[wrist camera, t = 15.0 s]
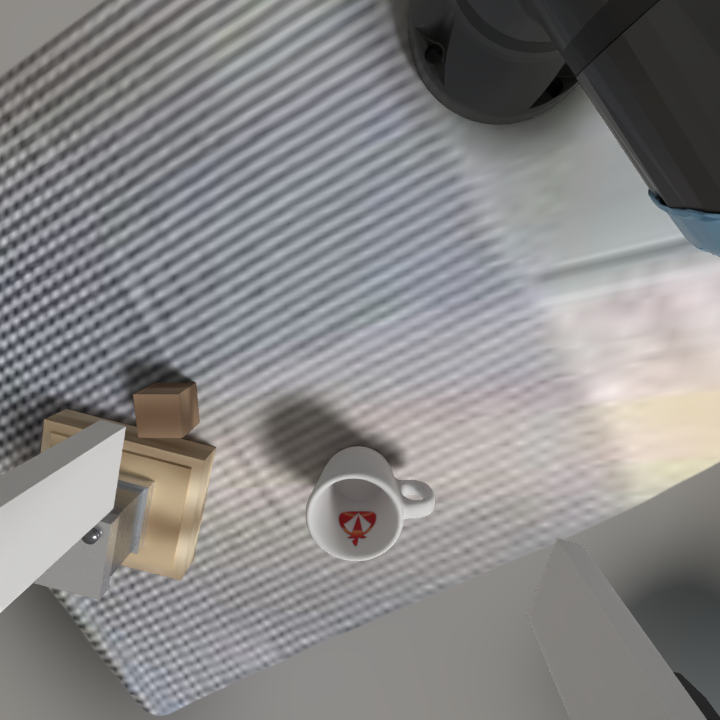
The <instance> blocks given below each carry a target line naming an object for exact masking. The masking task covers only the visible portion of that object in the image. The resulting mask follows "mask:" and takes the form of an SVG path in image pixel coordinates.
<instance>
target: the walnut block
mask: <svg viewBox="0 0 720 720" xmlns="http://www.w3.org/2000/svg"><path fill="white" fill-rule="evenodd" d="M133 399H134V407H135V415H136V424H137V432H138V438H183V437H184V436H185V435H186V434H187V433H189V432H190V431H191V430H192V429H193V428H194V427H195V426H196V425H198V424H199V423H200V420H199V409H198V398H197V387H196V383H153V384H151V385H150V386H148V387H146V388H144V389H142V390H140V391H138V392H136V393H135V394H133Z"/></svg>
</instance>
